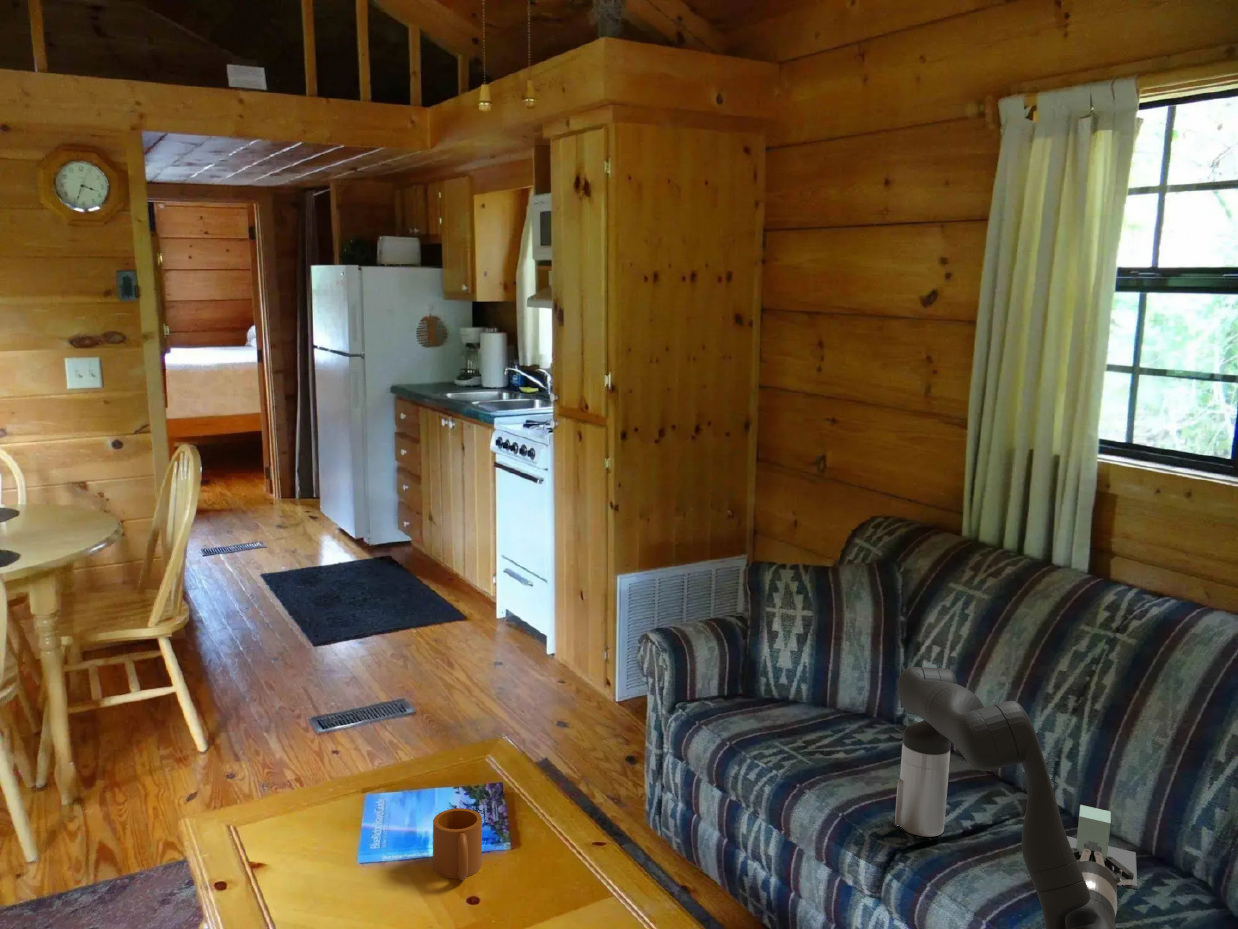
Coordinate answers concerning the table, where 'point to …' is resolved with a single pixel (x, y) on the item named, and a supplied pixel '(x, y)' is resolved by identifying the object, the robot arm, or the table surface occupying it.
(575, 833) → the table surface
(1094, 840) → the tall block
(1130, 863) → the mat
